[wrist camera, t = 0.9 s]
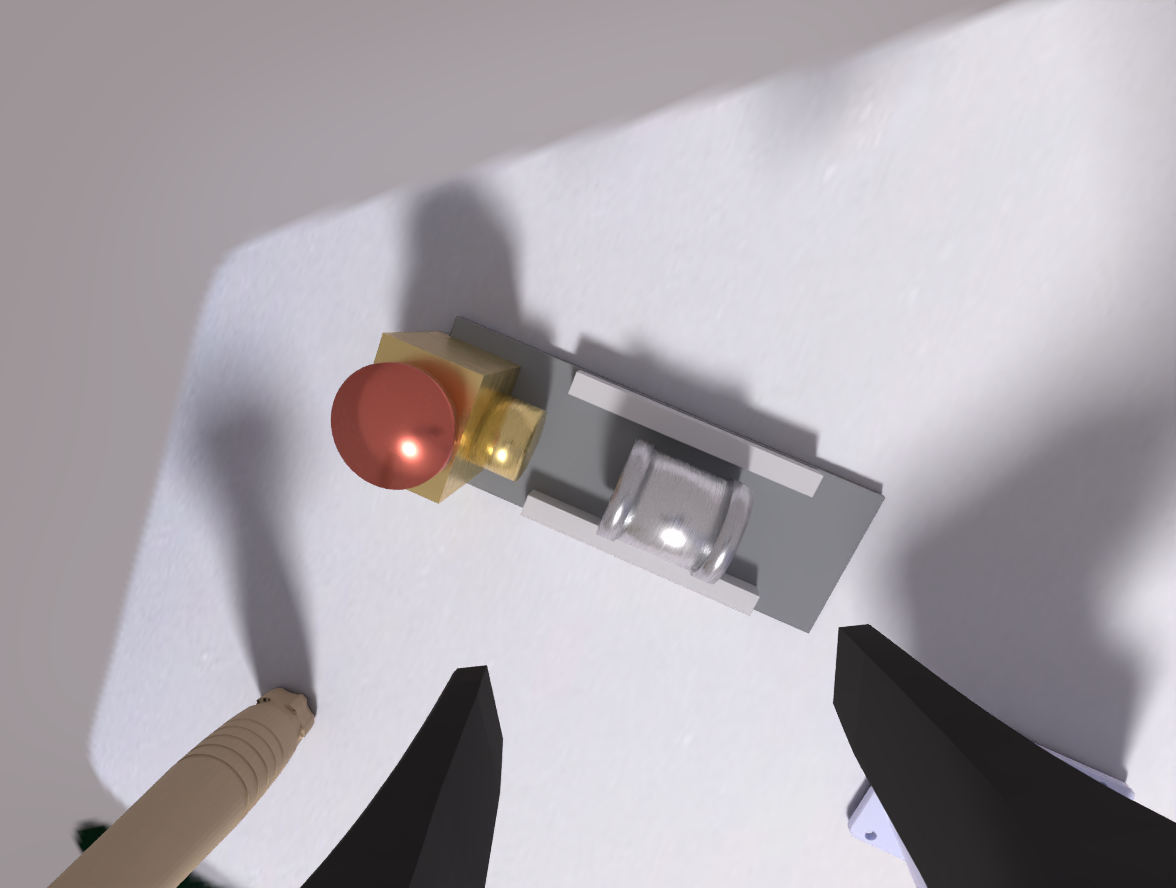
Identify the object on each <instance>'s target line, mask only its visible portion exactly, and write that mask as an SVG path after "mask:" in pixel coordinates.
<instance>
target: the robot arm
mask: <svg viewBox="0 0 1176 888" xmlns="http://www.w3.org/2000/svg"><path fill="white" fill-rule="evenodd" d="M833 704H834V707H835V709H836V712H837V714H838V717H839V719H840V722H841V724H842V727H843V729H844V732H845V734H846V736H847V739H848V741H849V743H850V746H851V748H852V750H853V753H854V755H855V757H856V759H857V761H858V762H859V764H860V766H861V768H862V770H863V772H864V773H865V775H866V777H867V779H868V781H869V783H870V784H871V787H870V788H869V790H868V791H867V793H866V794H865V796H864V797H863V799H862V801H861V802H860V804H859V805H858V807H857V808H856V810H855V811H854V813H853V815H852V816H851V818H850V819H849V821H848V828H849V831H850V833H851V835H852V836H853V837H855V838H857V839H859V840H861V841H863V842H865V843H867V844H870V845H872V846H874V847H876V848H878V849H881V850H883V851H885V852H887V853H889V854H891V855H894V856H896V857H898V858H900V859H902V860H904V861H906V863H907V866H908V868H909V871H910V873H911V875H912V878H913V880H914V882H915V885H916V887H917V888H1176V823H1175V822H1173V821H1171V820H1169V819H1168V818H1166V817H1164V816H1162V815H1160V814H1158V813H1156V812H1154V811H1152V810H1150V809H1148V808H1146V807H1145V806H1143V805H1141V804H1139V803H1137V802H1135V801H1133V800H1134V798H1135V795H1134V792H1133V790H1132V789H1131V788H1130V787H1129V786H1128V785H1127V784H1125V783H1124V782H1122V781H1120V780H1117V779H1115V778H1113V777H1111V776H1108V775H1106V774H1104V773H1102V772H1099V771H1097V770H1095V769H1092V768H1090V767H1088V766H1086V765H1083V764H1081V763H1079V762H1077V761H1074V760H1072V759H1070V758H1068V757H1065V756H1063V755H1061V754H1058V753H1056V752H1054V751H1052V750H1049V749H1047V748H1045V747H1043V746H1040V745H1038V744H1036V743H1034V742H1032V741H1030V740H1029V739H1027V738H1026V737H1024V736H1023V735H1021V734H1019V733H1018V732H1016V731H1015V730H1013V729H1012V728H1010V727H1009V726H1007V725H1006V724H1004V723H1003V722H1001V721H1000V720H998V719H997V718H995V717H994V716H992V715H991V714H989V713H988V712H987V711H985V710H984V709H982V708H981V707H979V706H978V705H977V704H975V703H974V702H972V701H971V700H969V699H968V698H967V697H965V696H964V695H962V694H961V693H960V692H958V691H957V690H956V689H954V688H953V687H951V686H950V685H949V684H947V683H946V682H945V681H943V680H942V679H941V678H939V677H938V676H937V675H935V674H934V673H932V672H931V671H930V670H928V669H927V668H926V667H925V666H923V665H922V664H921V663H919V662H918V661H917V660H915V659H914V658H913V657H911V656H910V655H909V654H907V653H906V652H905V651H904V650H902V649H901V648H900V647H898V646H897V645H896V644H894V643H893V642H892V641H891V640H889V639H888V638H887V637H885V636H884V635H883V634H881V633H880V632H879V631H877V630H876V629H875V628H873V627H872V626H871V625H869V624H866V625H856V626H847V627H839V631H838V644H837V658H836V671H835V685H834V699H833ZM502 748H503V737H502V732H501V728H500V723H499V718H498V714H497V709H496V705H495V700H494V695H493V691H492V686H491V682H490V677H489V673H488V668H487V665H485V666H476V667H467V668H457V670H456V671H455V672H454V673H453V674H452V676H451V678H450V680H449V681H448V683H447V685H446V687H445V688H444V690H443V692H442V694H441V695H440V697H439V699H438V701H437V702H436V704H435V706H434V707H433V709H432V711H431V712H430V714H429V716H428V717H427V719H426V721H425V722H424V724H423V725H422V727H421V729H420V730H419V732H418V733H417V735H416V736H415V738H414V740H413V741H412V743H411V744H410V746H409V747H408V749H407V750H406V752H405V753H404V755H403V757H402V758H401V760H400V761H399V763H398V764H397V766H396V767H395V768H394V770H393V771H392V773H391V774H390V775H389V777H388V778H387V780H386V781H385V783H384V784H383V785H382V787H381V788H380V790H379V791H378V792H377V794H376V795H375V797H374V798H373V799H372V801H371V802H370V804H369V805H368V806H367V808H366V809H365V810H364V812H363V813H362V814H361V815H360V817H359V818H358V819H357V821H356V822H355V823H354V825H353V826H352V827H351V828H350V830H349V831H348V832H347V833H346V835H345V836H344V837H343V838H342V840H341V841H340V842H339V843H338V844H337V846H336V847H335V848H334V849H333V850H332V852H331V853H330V854H329V855H328V857H327V858H326V859H325V860H324V861H323V862H322V864H321V865H320V866H319V867H318V868H317V869H316V870H315V871H314V873H313V874H312V875H311V876H310V877H309V878H308V879H307V881H306V882H305V883H304V884H303V885H302V886H301V887H300V888H485V883H486V877H487V871H488V864H489V858H490V852H491V846H492V840H493V834H494V828H495V821H496V815H497V809H498V802H499V796H500V785H501V769H502ZM867 831H873V832H872V833H866V832H867Z"/></svg>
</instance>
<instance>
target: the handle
mask: <svg viewBox="0 0 1176 888" xmlns="http://www.w3.org/2000/svg"><path fill="white" fill-rule="evenodd" d="M313 724H314V714H313V713H312V712H311V711H310V709H309V707H308V704H307V698H306V697H305V696H304V695H302V694H294V693H290V692H288V691H286V690H285V689H284V688H275V689H272V690H271V691H269V692H267V693H266V694H264V695H263V696H262V697H260V698H259V699H258V700H257V704H256V705H253V706H250V707H248V708H247V709H245V710H243V711H242V712H240V713H239V714H237V715H235V716H234V717H233V718H231V719H230V720H229V721H227V722H226V723H224V724H223V725H222V726H221V727H219V728H218V729H217V730H215V731H214V732H213V733H212V734H210V735H209V736H208V737H207V738H205V739H204V740H203V741H202V742H200V743H199V744H198V745H197V746H196V747H194V748H193V749H192V750H191V751H190V752H189V753H188V754H186V755H185V756H184V757H183V758H182V759H181V760H179V761H178V762H177V763H176V764H175V765H174V766H172V767H171V768H170V769H169V770H168V771H167V772H166V773H165V774H164V775H163V776H162V777H161V778H160V779H159V780H158V781H157V782H156V783H155V784H154V785H153V786H152V787H151V788H150V789H149V790H148V791H147V792H146V793H145V794H144V795H143V796H142V797H141V798H140V799H139V800H138V801H136V802H135V803H134V804H133V805H132V806H131V807H130V808H129V809H128V810H127V811H126V812H125V813H124V814H123V815H122V816H121V817H120V818H119V819H118V820H117V821H116V822H115V823H114V824H113V825H112V826H111V827H110V828H109V829H108V830H107V831H106V832H105V833H104V834H103V835H102V836H100V837H99V838H98V839H97V840H96V841H95V842H94V843H93V844H92V845H91V846H90V847H89V848H88V849H87V850H86V851H85V852H84V853H83V854H82V855H81V856H80V857H79V858H78V859H77V860H75V861H74V862H73V863H72V864H71V865H70V866H69V867H68V868H67V869H66V870H65V871H64V872H63V873H62V874H61V875H60V876H59V877H58V878H57V879H56V880H55V881H54V882H52V884H50V885H49V886H48V887H47V888H176V887H177V886H178V885H179V884H180V883H181V882H182V881H183V880H184V879H185V878H186V877H187V876H188V875H189V874H190V873H191V872H192V871H193V870H194V869H195V868H196V867H197V866H198V865H199V863H200V862H201V861H202V860H203V859H204V858H205V857H206V856H207V855H208V854H209V853H210V852H211V851H212V850H213V849H214V848H215V847H216V846H217V845H218V844H219V843H220V842H221V841H222V840H223V839H224V838H225V837H226V836H227V835H228V834H229V833H230V832H231V831H232V830H233V829H234V828H235V827H236V826H237V825H238V823H239V822H240V821H241V820H242V819H243V818H244V817H245V815H246V814H247V813H248V812H249V811H250V810H251V809H252V807H253V806H254V805H255V804H256V803H257V802H258V800H259V799H260V798H261V797H262V796H263V795H264V793H265V792H266V791H267V790H268V788H269V787H270V786H271V784H272V783H273V782H274V781H275V779H276V778H277V777H278V775H279V774H280V773H281V771H282V770H283V769H284V767H285V766H286V764H287V763H288V761H289V760H290V758H291V756H292V755H293V753H294V752H295V750H296V747H297V745H298V744H299V742H300V741H301V739H302V738H303V737H305V736H306V734H307V733H308V732H309V730H310V729H311V727H312V726H313Z"/></svg>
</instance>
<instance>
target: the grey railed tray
mask: <svg viewBox="0 0 1176 888" xmlns="http://www.w3.org/2000/svg"><path fill="white" fill-rule="evenodd" d="M450 336H452V337H454V338H457V339H459V340H461V341H464V342H466V343H469V344H471V345H473V346H476V347H478V348H480V349H483V350H485V351H487V352H490V353H492V354H494V355H497V356H499V357H502V358H504V359H506V360H509V361H511V362H513V363H516V364H518V365H520V366H521V369H520V372H519V374H518V377H517V380H516V383H515V385H514V388H513V391H512V393H511V396H512V397H514V398H517V399H519V400H521V401H524V402H526V403H528V404H531V405H533V406H535V407H538V408H540V409H542V410H545V411H546V412H547V415H546V421H545V424H544V428H543V431H542V434H541V436H540V439H539V441H538V444H537V446H536V449H535V451H534V453H533V455H532V457H531V459H530V461H529V463H528V465H527V467H526V469H525V471H524V472H523V474H522V475H521V477H520V478H519V479H518V480H517V481H516V482H514V481H512V480H510V479H507V478H505V477H503V476H500V475H498V474H496V473H494V472H491V471H489V470H487V469H483V471H482V472H480V473H479V474H478V475H476V476H475V477H474V478H472V479H471V480H470V481H468V482H467V483H468V484H470V485H472V486H475V487H477V488H479V489H481V490H484V491H486V492H488V493H491V494H493V495H495V496H497V497H500V498H502V499H504V500H506V501H509V502H511V503H513V504H516V505H518V506H520V507H522V508H523V509H522V512H521V514H520V515H522V516H524V517H527V518H529V519H531V520H533V521H536V522H538V523H540V524H542V525H545V526H547V527H549V528H551V529H554V530H556V531H558V532H561V533H563V534H565V535H567V536H570V537H572V538H574V539H576V540H579V541H581V542H583V543H586V544H588V545H590V546H592V547H595V548H597V549H599V550H601V551H604V552H606V553H608V554H610V555H613V556H615V557H617V558H620V559H622V560H624V561H626V562H629V563H631V564H633V565H635V566H638V567H640V568H642V569H645V570H647V571H649V572H651V573H654V574H656V575H658V576H660V577H663V578H665V579H667V580H669V581H672V582H674V583H676V584H679V585H681V586H683V587H685V588H688V589H690V590H692V591H694V592H697V593H699V594H701V595H703V596H706V597H708V598H710V599H713V600H715V601H717V602H719V603H722V604H724V605H726V606H728V607H731V608H733V609H735V610H738V611H740V612H742V613H744V614H747V615H749V616H750V615H751V613H752V611H753V609H754V610H756V611H759V612H761V613H763V614H766V615H768V616H770V617H772V618H775V619H777V620H779V621H781V622H784V623H786V624H788V625H791V626H793V627H795V628H797V629H800V630H802V631H804V632H806V633H809V632H810V630H811V629H812V627H813V625H814V623H815V622H816V620H817V618H818V616H819V614H820V613H821V611H822V609H823V607H824V606H825V604H826V602H827V600H828V598H829V597H830V595H831V593H832V591H833V590H834V588H835V586H836V584H837V582H838V581H839V579H840V577H841V575H842V573H843V572H844V570H845V568H846V566H847V565H848V563H849V561H850V559H851V557H852V556H853V554H854V552H855V550H856V549H857V547H858V545H859V543H860V541H861V540H862V538H863V536H864V534H865V533H866V531H867V529H868V527H869V525H870V524H871V522H872V520H873V518H874V517H875V515H876V513H877V511H878V509H879V508H880V506H881V504H882V502H883V501H884V499H885V497H884V496H883V495H882V494H879V493H877V492H875V491H872V490H870V489H867V488H865V487H863V486H860V485H858V484H856V483H853V482H851V481H848V480H846V479H844V478H841V477H839V476H837V475H834V474H832V473H829V472H827V471H825V470H822V469H820V468H818V467H815V466H813V465H811V464H808V463H806V462H803V461H801V460H799V459H796V458H794V457H792V456H789V455H787V454H784V453H782V452H780V451H777V450H775V449H773V448H770V447H768V446H765V445H763V444H761V443H758V442H756V441H754V440H751V439H749V438H746V437H744V436H742V435H739V434H737V433H735V432H732V431H730V430H727V429H725V428H723V427H720V426H718V425H716V424H713V423H711V422H709V421H706V420H704V419H701V418H699V417H697V416H694V415H692V414H690V413H687V412H685V411H682V410H680V409H678V408H675V407H673V406H671V405H668V404H666V403H663V402H661V401H659V400H656V399H654V398H652V397H649V396H647V395H644V394H642V393H640V392H637V391H635V390H633V389H630V388H628V387H626V386H623V385H621V384H618V383H616V382H614V381H611V380H609V379H607V378H604V377H602V376H599V375H597V374H595V373H592V372H590V371H588V370H585V369H583V368H580V367H578V366H576V365H573V364H571V363H569V362H566V361H564V360H561V359H559V358H557V357H554V356H552V355H550V354H547V353H545V352H542V351H540V350H538V349H535V348H533V347H531V346H528V345H526V344H524V343H521V342H519V341H516V340H514V339H512V338H509V337H507V336H505V335H502V334H500V333H497V332H495V331H493V330H490V329H488V328H486V327H483V326H481V325H478V324H476V323H474V322H471V321H469V320H467V319H464V318H462V317H457V316H456V319H455V322H454V325H453V328H452V331H451V334H450ZM636 438H639V439H642V440H644V441H646V442H649V443H651V444H653V445H655V449H656V450H658V451H660V452H663V453H665V454H667V455H670V456H672V457H674V458H677V459H679V460H682V461H684V462H686V463H689V464H691V465H693V466H696V467H698V468H700V469H703V470H705V471H707V472H710V473H712V474H714V475H717V476H719V477H721V478H724V479H726V480H729V479H730V478H733V479H735V480H738V481H740V482H742V483H745V484H747V485H749V486H751V487H752V488H753V491H754V499H753V506H752V510H751V514H750V518H749V521H748V524H747V527H746V530H745V533H744V535H743V538H742V540H741V543H740V545H739V547H738V549H737V551H736V553H735V555H734V557H733V559H732V561H731V563H730V565H729V566H728V568H727V569H726V571H725V572H724V574H723V575H722V576H721V578H720V579H719V580H718V581H717V582H716V583H714V584H712V585H711V584H708V583H706V582H704V581H701V580H699V579H697V578H694V577H692V576H691V575H690V571H688V570H686V569H683V568H681V567H679V566H676V565H674V564H672V563H670V562H667V561H665V560H663V559H660V558H658V557H656V556H654V555H651V554H649V553H647V552H644V551H642V550H640V549H638V548H635V547H633V546H631V545H629V544H626V543H624V542H622V541H619V540H617V539H616V540H615V541H614V542H612V541H610V540H608V539H606V538H603V537H601V536H599V535H597V534H596V531H597V529H598V526H599V524H600V521H601V519H602V517H603V514H604V512H605V509H606V507H607V505H608V502H609V500H610V498H611V495H612V493H613V490H614V488H615V486H616V483H617V481H618V479H619V477H620V474H621V472H622V470H623V467H624V465H625V463H626V460H627V458H628V456H629V454H630V451H631V449H632V447H633V445H634V443H635V440H636Z"/></svg>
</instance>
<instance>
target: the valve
mask: <svg viewBox="0 0 1176 888" xmlns="http://www.w3.org/2000/svg"><path fill="white" fill-rule="evenodd" d="M520 369H521V366H520V365H518V364H516V363H513V362H511V361H509V360H506V359H504V358H502V357H499V356H497V355H494V354H492V353H490V352H487V351H485V350H483V349H480V348H478V347H476V346H473V345H471V344H469V343H466V342H464V341H461V340H459V339H457V338H454V337H452V336H450V335H447V334H445V333H443V332H440V331H434V332H392V333H383V334H382V338H381V341H380V344H379V347H378V351H377V354H376V357H375V361H374V364H372V365H368V366H366V367H363V368H361V369H359V370H357V371H356V372H354V373H353V374H352V375H351V376H349V377H348V378H347V379H346V380H345V381H344V383H343V384H342V386H341V387H340V388H339V390H338V392H337V394H336V396H335V399H334V402H333V406H332V411H331V428H332V435H333V438H334V442H335V444H336V447H337V449H338V451H339V453H340V455H341V457H342V458H343V460H344V462H345V463H346V464H347V465H348V466H349V467H350V468H351V470H352V471H354V472H355V473H356V474H357V475H358V476H359V477H361V478H362V479H364V480H365V481H367V482H369V483H371V484H373V485H376V486H378V487H382V488H386V489H393V490H403V489H407V490H409V491H411V492H414V493H416V494H418V495H420V496H423V497H425V498H427V499H429V500H432V501H434V502H436V503H438V504H439V503H440V502H441V501H443V500H444V499H445V498H447V497H448V496H450V495H451V494H452V493H454V492H455V491H456V490H458V489H459V488H460V487H462V486H463V485H464V484H466V483H467V482H468V481H470V480H471V479H472V478H474V477H475V476H476V475H478V474H479V473H480V472H482V471H483V469H487V470H489V471H491V472H494V473H496V474H498V475H500V476H503V477H505V478H507V479H510V480H512V481H514V482H516V481H517V480H518V479H519V478H520V477H521V475H522V474H523V472H524V471H525V469H526V467H527V465H528V463H529V461H530V459H531V457H532V455H533V453H534V451H535V449H536V446H537V444H538V441H539V439H540V436H541V434H542V431H543V428H544V424H545V421H546V415H547V412H546V411H545V410H542V409H540V408H538V407H535V406H533V405H531V404H528V403H526V402H524V401H521V400H519V399H517V398H514V397H512V396H511V393H512V391H513V388H514V385H515V383H516V380H517V377H518V374H519V372H520Z"/></svg>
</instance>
